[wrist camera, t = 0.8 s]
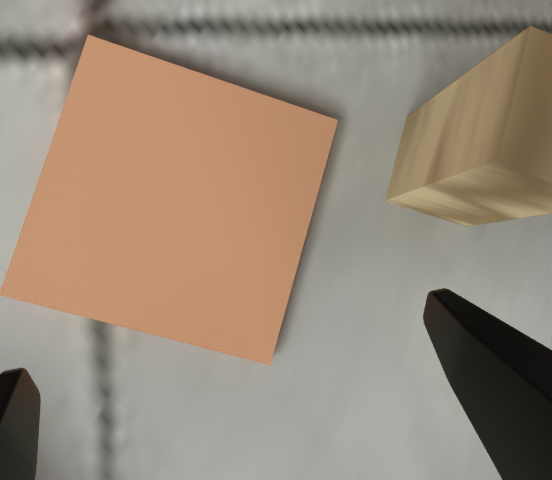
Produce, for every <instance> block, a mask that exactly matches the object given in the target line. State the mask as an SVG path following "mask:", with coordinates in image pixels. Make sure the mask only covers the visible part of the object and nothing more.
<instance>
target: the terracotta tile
mask: <svg viewBox="0 0 552 480" xmlns="http://www.w3.org/2000/svg"><path fill="white" fill-rule="evenodd" d="M337 123H338V120H336V119H333V118H331V117H328V116H325V115H322V114H319V113H316V112H313V111H310V110H307V109H304V108H301V107H298V106H295V105H292V104H290V103H287V102H284V101H281V100H278V99H275V98H272V97H269V96H266V95H263V94H260V93H257V92H254V91H251V90H249V89H246V88H243V87H240V86H237V85H234V84H231V83H228V82H225V81H222V80H219V79H216V78H213V77H211V76H208V75H205V74H202V73H199V72H196V71H193V70H190V69H187V68H184V67H181V66H178V65H175V64H172V63H170V62H167V61H164V60H161V59H158V58H155V57H152V56H149V55H146V54H143V53H140V52H137V51H134V50H131V49H129V48H126V47H123V46H120V45H117V44H114V43H111V42H108V41H105V40H102V39H99V38H96V37H93V36H90V35H88V37H87V40H86V42H85V45H84V48H83V51H82V54H81V57H80V60H79V63H78V66H77V69H76V72H75V75H74V78H73V81H72V84H71V86H70V89H69V92H68V95H67V98H66V101H65V104H64V107H63V110H62V113H61V116H60V119H59V122H58V125H57V128H56V131H55V133H54V136H53V139H52V142H51V145H50V148H49V151H48V154H47V157H46V160H45V163H44V166H43V169H42V172H41V175H40V177H39V180H38V183H37V186H36V189H35V192H34V195H33V198H32V201H31V204H30V207H29V210H28V213H27V216H26V219H25V221H24V224H23V227H22V230H21V233H20V236H19V239H18V242H17V245H16V248H15V251H14V254H13V257H12V260H11V263H10V265H9V268H8V271H7V274H6V277H5V280H4V283H3V286H2V289H1V292H0V295H2V296H6V297H10V298H14V299H17V300H21V301H25V302H29V303H33V304H37V305H41V306H44V307H48V308H52V309H56V310H60V311H64V312H68V313H71V314H75V315H79V316H83V317H87V318H91V319H95V320H98V321H102V322H106V323H110V324H114V325H118V326H122V327H125V328H129V329H133V330H137V331H141V332H145V333H149V334H152V335H156V336H160V337H164V338H168V339H172V340H176V341H179V342H183V343H187V344H191V345H195V346H199V347H202V348H206V349H210V350H214V351H218V352H222V353H226V354H229V355H233V356H237V357H241V358H245V359H249V360H253V361H256V362H260V363H264V364H268V365H270V364H271V361H272V357H273V353H274V350H275V346H276V343H277V339H278V335H279V332H280V328H281V325H282V321H283V317H284V314H285V310H286V307H287V303H288V299H289V296H290V292H291V289H292V285H293V281H294V278H295V274H296V270H297V267H298V263H299V260H300V256H301V252H302V249H303V245H304V242H305V238H306V234H307V231H308V227H309V224H310V220H311V216H312V213H313V209H314V206H315V202H316V198H317V195H318V191H319V187H320V184H321V180H322V177H323V173H324V169H325V166H326V162H327V159H328V155H329V151H330V148H331V144H332V141H333V137H334V133H335V130H336V126H337Z"/></svg>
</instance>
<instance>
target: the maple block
mask: <svg viewBox="0 0 552 480" xmlns="http://www.w3.org/2000/svg"><path fill="white" fill-rule="evenodd" d="M385 201H388V202H391V203H394V204H397V205H400V206H403V207H407V208H410V209H413V210H416V211H419V212H422V213H425V214H428V215H431V216H435V217H438V218H441V219H444V220H447V221H450V222H453V223H456V224H459V225H463V226H472V225H479V224H485V223H492V222H498V221H505V220H512V219H518V218H525V217H531V216H538V215H544V214H551V213H552V34H550V33H547V32H545V31H542V30H540V29H537V28H535V27H532V26H530V27H528V28H527V29H526V30H524V31H523V32H521V33H520V34H519V35H517V36H516V37H515V38H513V39H512V40H511V41H509V42H508V43H506V44H505V45H504V46H502V47H501V48H500V49H498V50H497V51H496V52H494V53H493V54H491V55H490V56H489V57H487V58H486V59H485V60H483V61H482V62H481V63H479V64H478V65H476V66H475V67H474V68H472V69H471V70H470V71H468V72H467V73H466V74H464V75H463V76H461V77H460V78H459V79H457V80H456V81H455V82H453V83H452V84H451V85H449V86H448V87H446V88H445V89H444V90H442V91H441V92H440V93H438V94H437V95H436V96H434V97H433V98H431V99H430V100H429V101H427V102H426V103H425V104H423V105H422V106H421V107H419V108H418V109H416V110H415V111H414V112H412V113H411V114H410V115H408V116H407V118H406V122H405V126H404V130H403V133H402V137H401V141H400V145H399V149H398V153H397V156H396V160H395V164H394V168H393V172H392V175H391V179H390V183H389V187H388V191H387V195H386V198H385Z"/></svg>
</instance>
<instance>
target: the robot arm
mask: <svg viewBox="0 0 552 480" xmlns="http://www.w3.org/2000/svg"><path fill="white" fill-rule="evenodd" d="M423 320H424V324H425V327H426V329H427V332H428V334H429V337H430V339H431V341H432V344H433V346H434V349H435V351H436V353H437V356H438V358H439V360H440V363H441V365H442V368H443V370H444V372H445V375H446V377H447V379H448V381H449V383H450V385H451V387H452V389H453V391H454V393H455V395H456V396H457V398H458V400H459V402H460V404H461V405H462V407H463V409H464V411H465V413H466V415H467V416H468V418H469V420H470V422H471V424H472V425H473V427H474V429H475V431H476V433H477V434H478V436H479V438H480V440H481V442H482V443H483V445H484V447H485V449H486V451H487V453H488V454H489V456H490V458H491V460H492V462H493V463H494V465H495V467H496V469H497V471H498V472H499V474H500V476H501V478H502V480H552V350H550V349H549V348H547V347H545V346H544V345H542V344H540V343H539V342H537V341H535V340H534V339H532V338H530V337H528V336H527V335H525V334H523V333H522V332H520V331H518V330H517V329H515V328H513V327H512V326H510V325H508V324H506V323H505V322H503V321H501V320H500V319H498V318H496V317H495V316H493V315H491V314H489V313H488V312H486V311H484V310H483V309H481V308H479V307H478V306H476V305H474V304H473V303H471V302H469V301H467V300H466V299H464V298H462V297H461V296H459V295H457V294H456V293H454V292H452V291H451V290H449V289H445V288H444V289H438V290H433V291H430V292H429V293H428V295H427V300H426V305H425V309H424V314H423ZM39 418H40V393H39V390H38V388H37V387H36V385H35V383H34V382H33V380H32V378H31V376H30V375H29V373H28V371H27V370H26V369H24V368H17V369H12V370H6V371H4V372H2V373H1V374H0V480H35V475H36V465H37V451H38V435H39Z"/></svg>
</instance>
